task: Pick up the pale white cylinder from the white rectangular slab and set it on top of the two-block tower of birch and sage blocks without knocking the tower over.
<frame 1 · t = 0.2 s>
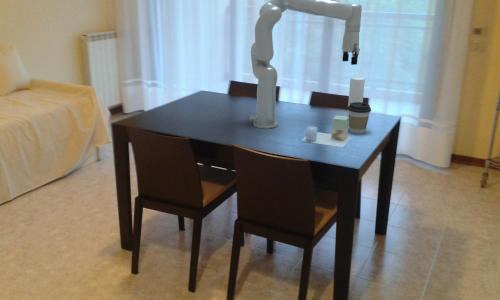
hand: (349, 62, 251), 31 cm above the table, tool pointing down, fingers open, 9 cm apart
bottom block: (339, 138, 228), point 1 cm above the table, touching white rectangular slab, top block
coffee cup: (356, 134, 240), on the table
top block: (340, 128, 227), point 6 cm above the table, touching bottom block
cylindrical container: (353, 125, 253), on the table
white rectangular slab: (326, 142, 228), on the table
pale white cylinder: (311, 140, 225), point 1 cm above the table, touching white rectangular slab
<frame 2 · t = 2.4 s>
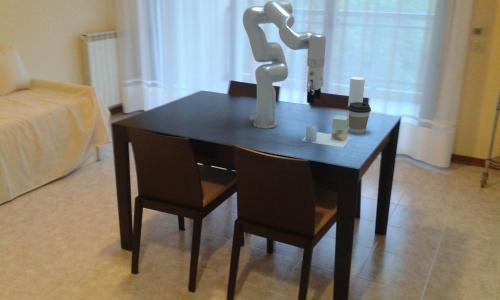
hand: (313, 100, 219), 20 cm above the table, tool pointing down, fingers open, 9 cm apart
nothing on the table moved.
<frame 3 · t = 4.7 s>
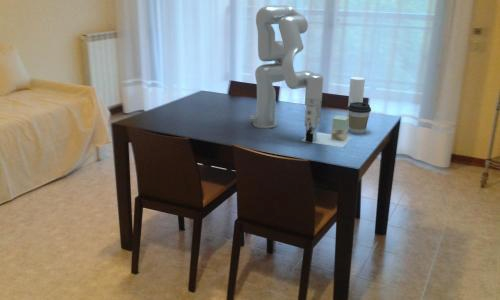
hand: (311, 139, 225), 2 cm above the table, tool pointing down, fingers closed on pale white cylinder, 4 cm apart
pale white cylinder: (311, 140, 225), point 2 cm above the table, touching white rectangular slab, gripper
everything else where it was.
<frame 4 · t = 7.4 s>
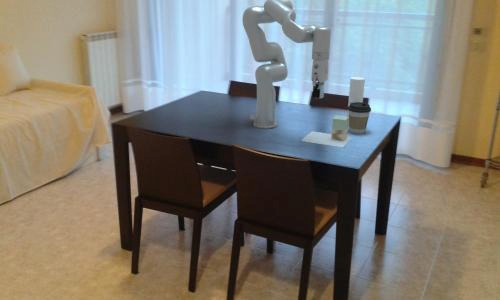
hand: (318, 95, 218), 23 cm above the table, tool pointing down, fingers closed on pale white cylinder, 4 cm apart
pale white cylinder: (318, 96, 218), point 22 cm above the table, touching gripper
everything else where it was.
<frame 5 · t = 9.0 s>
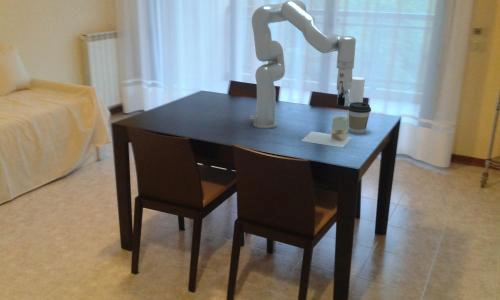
hand: (342, 103, 223), 18 cm above the table, tool pointing down, fingers closed on pale white cylinder, 4 cm apart
pale white cylinder: (342, 104, 223), point 18 cm above the table, touching gripper
everything else where it was.
when the fingers open (13 cm above the table, at t = 10.3 s): pale white cylinder stays where it is, resting on top block.
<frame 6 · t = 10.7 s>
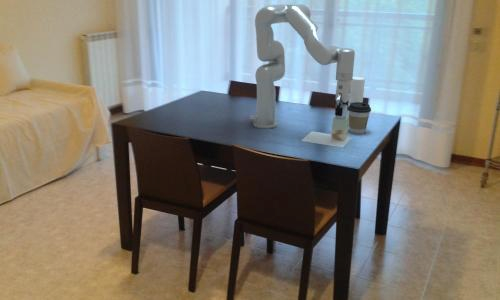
hand: (341, 113, 224), 14 cm above the table, tool pointing down, fingers open, 9 cm apart
top block: (340, 128, 227), point 6 cm above the table, touching pale white cylinder, bottom block
pale white cylinder: (340, 117, 225), point 11 cm above the table, touching top block
everything else where it was.
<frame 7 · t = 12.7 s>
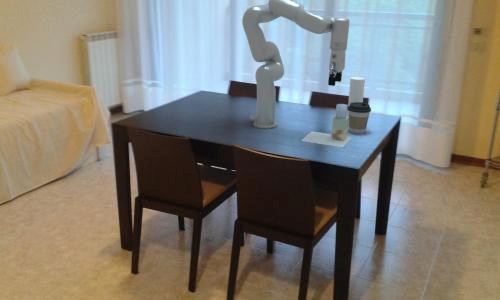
hand: (334, 83, 224), 27 cm above the table, tool pointing down, fingers open, 9 cm apart
nothing on the table moved.
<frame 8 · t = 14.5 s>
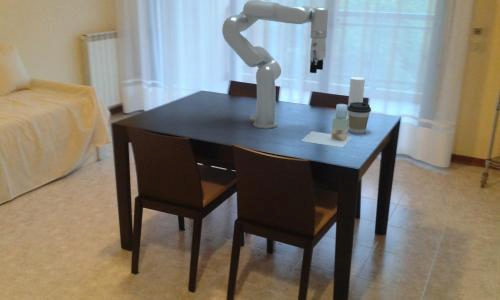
hand: (316, 71, 233), 30 cm above the table, tool pointing down, fingers open, 9 cm apart
nothing on the table moved.
at the end: pale white cylinder 0.0 cm off-centre on the top block, point 5.0 cm above the top block's base; top block 0.0 cm off-centre on the bottom block, point 5.0 cm above the bottom block's base; bottom block moved 0.0 cm from its start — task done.
